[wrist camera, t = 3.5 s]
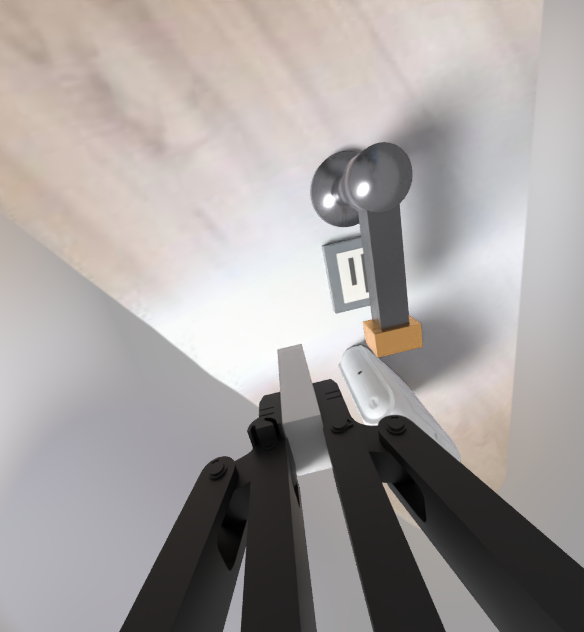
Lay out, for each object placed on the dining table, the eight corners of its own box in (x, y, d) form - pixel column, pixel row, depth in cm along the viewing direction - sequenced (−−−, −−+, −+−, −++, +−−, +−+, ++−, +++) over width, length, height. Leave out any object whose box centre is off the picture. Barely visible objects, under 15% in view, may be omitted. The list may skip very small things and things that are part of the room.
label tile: (321, 246, 28) (323, 247, 27) (380, 232, 28) (384, 232, 27) (333, 310, 31) (335, 313, 29) (387, 297, 31) (391, 300, 29)
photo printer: (330, 362, 33) (364, 442, 21) (357, 337, 32) (408, 406, 20) (386, 409, 36) (443, 503, 24) (412, 387, 35) (484, 473, 23)
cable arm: (336, 159, 20) (346, 150, 17) (392, 145, 20) (411, 134, 17) (363, 342, 24) (375, 358, 22) (408, 332, 24) (425, 346, 22)
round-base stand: (304, 162, 26) (315, 144, 19) (372, 145, 26) (406, 122, 19) (317, 233, 28) (331, 238, 22) (380, 218, 28) (412, 218, 21)
